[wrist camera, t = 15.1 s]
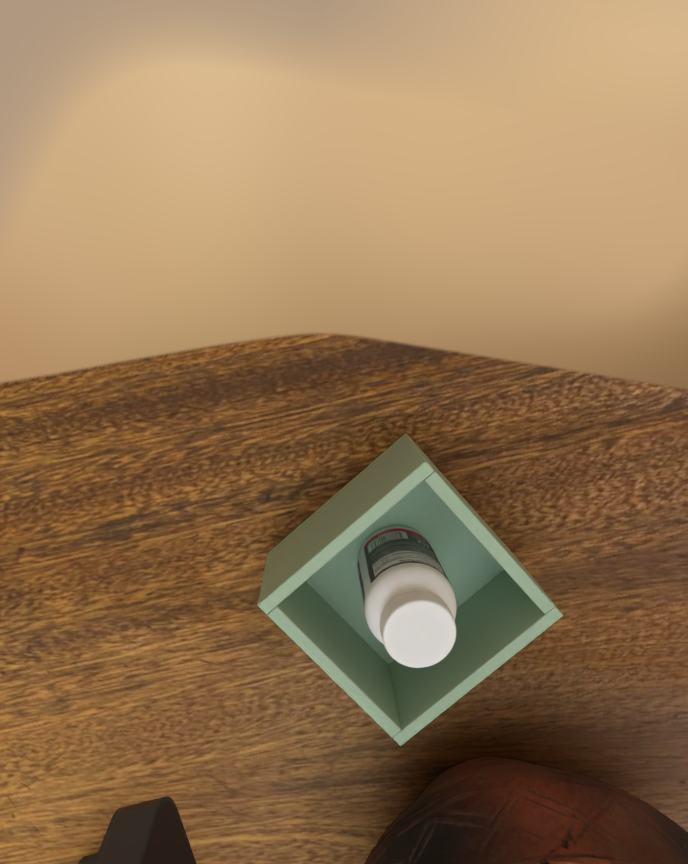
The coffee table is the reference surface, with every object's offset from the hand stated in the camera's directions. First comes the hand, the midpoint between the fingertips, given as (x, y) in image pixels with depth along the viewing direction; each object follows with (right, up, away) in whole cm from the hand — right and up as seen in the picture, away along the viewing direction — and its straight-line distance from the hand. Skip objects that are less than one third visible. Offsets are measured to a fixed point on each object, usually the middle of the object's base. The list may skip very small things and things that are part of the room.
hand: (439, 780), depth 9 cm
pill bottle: (+2, -3, +33) cm, 33 cm away
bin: (+2, -3, +34) cm, 34 cm away
